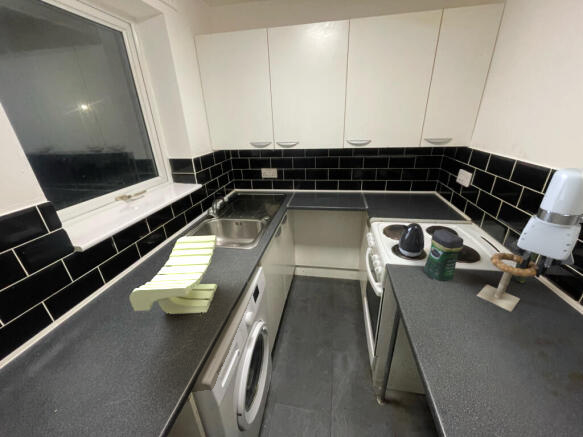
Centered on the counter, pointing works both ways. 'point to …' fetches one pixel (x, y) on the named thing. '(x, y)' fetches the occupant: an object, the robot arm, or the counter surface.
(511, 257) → the ring
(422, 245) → the black egg shaped dome
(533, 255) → the vegetable
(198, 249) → the slatted lounge chair
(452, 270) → the coffee jar
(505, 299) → the post
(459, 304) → the counter surface
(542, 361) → the counter surface
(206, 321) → the counter surface
